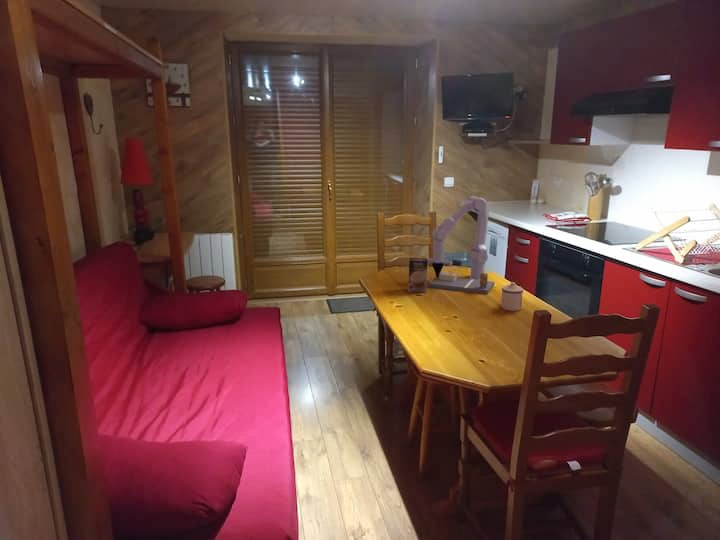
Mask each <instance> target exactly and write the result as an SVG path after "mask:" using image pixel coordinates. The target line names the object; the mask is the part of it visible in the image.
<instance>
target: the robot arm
mask: <svg viewBox="0 0 720 540" xmlns="http://www.w3.org/2000/svg"><path fill="white" fill-rule="evenodd" d="M474 211H475V213H476V214H477V222H476V230H475V236H474V243H473V245H472V246H471V249H470V251H469V253H468V254H469V258H470V259H471V260H470V261H471V263H470V276H469V277H468V278H467V279H474V280H480V273H486V269H487V267H486V262H487V261H488V258H489V256H488V248H487V247H486V239H487V238H486V237H487V233H488V232H487V231H488V224H489V223H488V222H489V217H490V216H489V215H490V210H489V207H488V203H487V201H486V199H484V198H483V197H478V196H475V195H469V196H468V197H467V199H465V200H464V201H463V203H462V205H461V206H460V207H459V208H458V209H457V210H456V211H455V212H454V214H453V215H452V216H451V217H447V218H445V219H444V220H443V222H442V223H441V224H440V225H438V226H437V228H434V229H433V230H432V233H431V237H432V238H433V243H432V245H433V246H432V258H431V257H430V258H429V257H426V258H427V260H428V263H430V264H432V267H433V270H434V273H435V277H439V274H440V273H441V272H442V269H443V268H444V266H445V265H450V266H452V265H453V260H449V259H445V240H446V239H447V238H448V234H450V232H451V231H452V230H453V229H454V228H455V227H456V225H457V222H458V221H459V220H460V219H461V218H462V217H463V216H464V215H465V214H466V213H468V212H474Z"/></svg>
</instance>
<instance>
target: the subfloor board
mask: <svg viewBox="0 0 720 540" xmlns="http://www.w3.org/2000/svg"><path fill="white" fill-rule="evenodd" d="M427 286H430V287H429V288H433V287H435V288H434V289H441V288H442V290H443V289H444V290H449V289H450V291H459V292H467V293H473V292H474V293H473V294H475V293H476V294H482V295H489V293H490V292H491V291H492V289H493V288H494V287H495V281H489V280H488V281H487V288H480V280H474V279H468V278H464V277H457V279H456V280H455V281H447V280H439V277H436V276H435V277H434V278H433V279H431V281H429V282H427ZM490 290H491V291H490Z"/></svg>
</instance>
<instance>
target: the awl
mask: <svg viewBox="0 0 720 540" xmlns="http://www.w3.org/2000/svg"><path fill="white" fill-rule="evenodd" d="M488 278H489V273H487V272H485V273H480V288H487V281H489V279H488Z"/></svg>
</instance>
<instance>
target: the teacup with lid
mask: <svg viewBox="0 0 720 540" xmlns="http://www.w3.org/2000/svg"><path fill="white" fill-rule="evenodd" d="M523 292H524V289H523V287H521V286H518V285H517V284H516V282H513V281H512V282H510V284H507V285H504V286H502V287H501V301H500V302H501V303H500V308H502V309H503V310H505V311H511V312H517V311H520V310H521V309H522V304H523Z"/></svg>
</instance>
